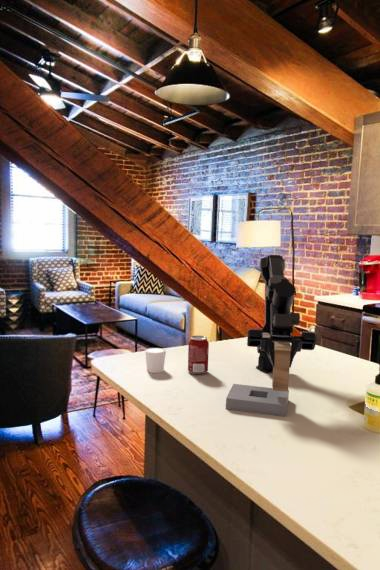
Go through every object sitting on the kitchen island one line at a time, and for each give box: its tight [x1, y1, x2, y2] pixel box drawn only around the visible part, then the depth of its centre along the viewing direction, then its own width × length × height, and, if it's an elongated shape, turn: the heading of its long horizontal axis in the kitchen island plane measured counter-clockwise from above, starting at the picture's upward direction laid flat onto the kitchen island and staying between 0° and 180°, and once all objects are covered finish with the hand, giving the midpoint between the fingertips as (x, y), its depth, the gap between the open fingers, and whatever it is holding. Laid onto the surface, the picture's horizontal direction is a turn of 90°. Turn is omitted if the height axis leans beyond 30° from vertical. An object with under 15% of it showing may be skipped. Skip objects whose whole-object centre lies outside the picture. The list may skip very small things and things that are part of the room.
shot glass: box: [145, 347, 167, 374], centre depth 154 cm, size 7×7×7 cm
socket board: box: [225, 383, 290, 417], centre depth 126 cm, size 12×16×3 cm
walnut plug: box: [271, 342, 291, 392], centre depth 124 cm, size 4×4×12 cm
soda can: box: [187, 335, 210, 376], centre depth 152 cm, size 7×7×12 cm
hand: (281, 366), depth 122 cm, fingers closed on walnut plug, 4 cm apart
